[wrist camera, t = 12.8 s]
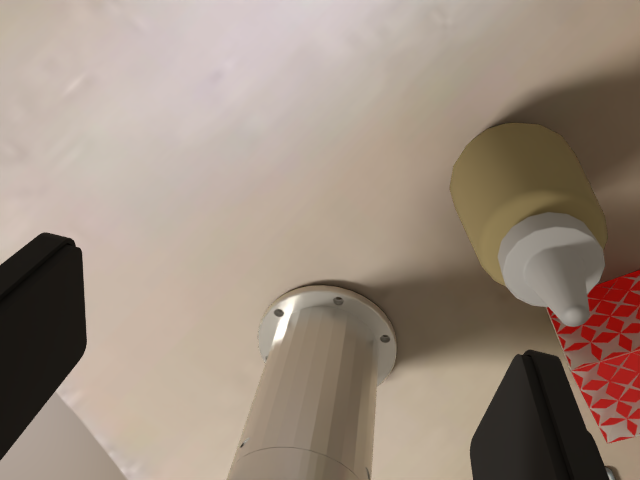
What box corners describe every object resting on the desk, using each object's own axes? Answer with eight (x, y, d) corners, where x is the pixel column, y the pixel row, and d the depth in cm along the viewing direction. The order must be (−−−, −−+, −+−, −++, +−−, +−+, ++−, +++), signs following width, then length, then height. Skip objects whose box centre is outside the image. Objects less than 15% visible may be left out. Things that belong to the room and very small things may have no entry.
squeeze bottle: (584, 124, 35) (728, 263, 20) (533, 225, 39) (618, 406, 24) (470, 93, 35) (522, 206, 20) (430, 197, 39) (447, 359, 24)
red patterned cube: (543, 302, 43) (570, 370, 36) (646, 266, 40) (696, 332, 33) (576, 369, 45) (607, 444, 39) (675, 340, 43) (726, 415, 36)
